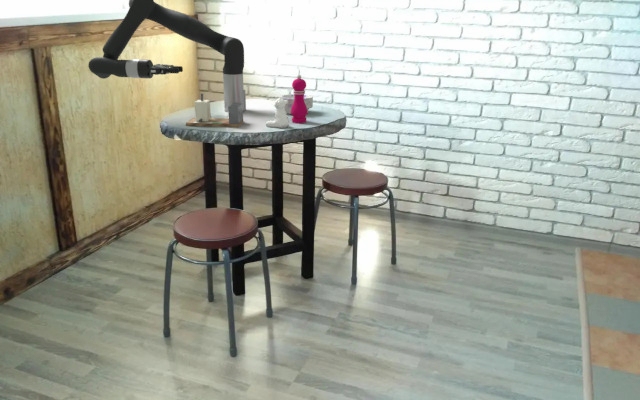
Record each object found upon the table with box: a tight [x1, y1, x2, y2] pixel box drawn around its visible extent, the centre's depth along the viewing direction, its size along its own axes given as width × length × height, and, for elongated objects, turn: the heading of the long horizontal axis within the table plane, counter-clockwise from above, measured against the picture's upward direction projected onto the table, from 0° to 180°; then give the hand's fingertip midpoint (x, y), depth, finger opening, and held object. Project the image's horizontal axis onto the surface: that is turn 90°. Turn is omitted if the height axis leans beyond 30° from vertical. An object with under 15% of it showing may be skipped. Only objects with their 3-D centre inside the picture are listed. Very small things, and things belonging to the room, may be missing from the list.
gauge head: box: [194, 93, 212, 122], centre depth 225 cm, size 5×8×11 cm, turn 176°
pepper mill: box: [290, 74, 309, 124], centre depth 232 cm, size 7×7×20 cm
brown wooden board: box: [185, 117, 244, 128], centre depth 229 cm, size 22×11×1 cm, turn 87°
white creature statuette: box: [265, 97, 290, 129], centre depth 224 cm, size 10×9×12 cm
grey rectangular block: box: [228, 103, 244, 124], centre depth 227 cm, size 4×10×7 cm, turn 177°
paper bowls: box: [279, 93, 314, 115], centre depth 253 cm, size 15×15×8 cm
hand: (180, 69), depth 222 cm, fingers open, 4 cm apart
